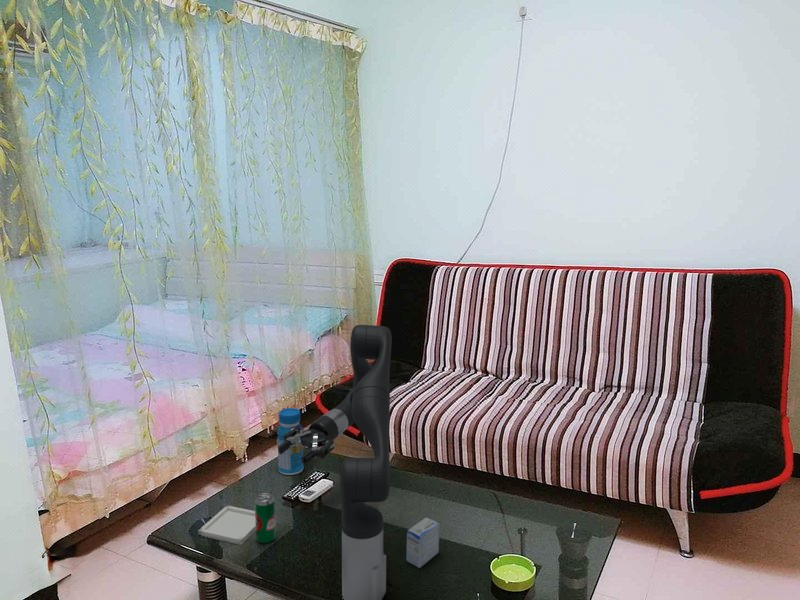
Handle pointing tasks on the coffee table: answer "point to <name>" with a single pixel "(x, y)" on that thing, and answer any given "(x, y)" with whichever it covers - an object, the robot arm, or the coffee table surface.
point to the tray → (230, 525)
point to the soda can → (265, 518)
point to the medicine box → (422, 542)
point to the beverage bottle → (292, 457)
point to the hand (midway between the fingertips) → (290, 456)
